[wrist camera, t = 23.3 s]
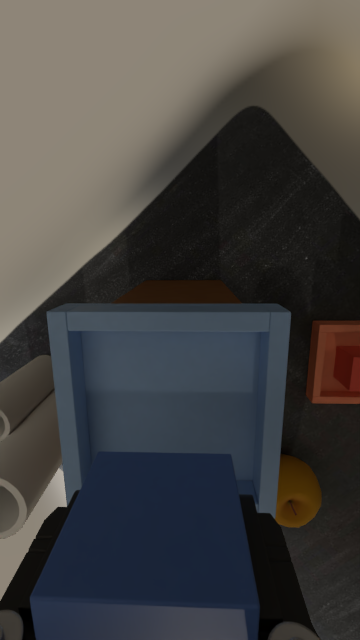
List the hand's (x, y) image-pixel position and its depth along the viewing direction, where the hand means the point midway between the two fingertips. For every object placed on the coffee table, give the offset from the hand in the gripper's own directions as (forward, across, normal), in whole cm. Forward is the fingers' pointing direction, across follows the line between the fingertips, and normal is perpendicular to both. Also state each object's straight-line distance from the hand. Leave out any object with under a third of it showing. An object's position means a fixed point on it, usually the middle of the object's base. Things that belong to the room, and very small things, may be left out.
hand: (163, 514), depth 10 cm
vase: (+33, +18, +11) cm, 39 cm away
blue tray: (+32, 0, 0) cm, 32 cm away
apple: (+33, -14, +23) cm, 42 cm away
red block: (+32, -23, +6) cm, 40 cm away
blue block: (0, 0, 0) cm, 0 cm away
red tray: (+32, -23, +6) cm, 40 cm away
